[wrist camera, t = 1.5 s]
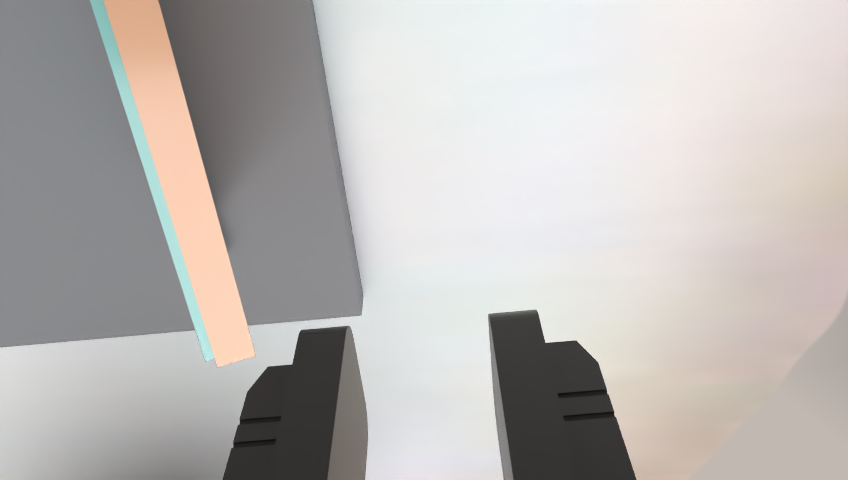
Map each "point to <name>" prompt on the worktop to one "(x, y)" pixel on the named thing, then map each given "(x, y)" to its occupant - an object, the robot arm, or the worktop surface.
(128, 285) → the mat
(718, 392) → the worktop surface
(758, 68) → the worktop surface
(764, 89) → the worktop surface
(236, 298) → the tile
